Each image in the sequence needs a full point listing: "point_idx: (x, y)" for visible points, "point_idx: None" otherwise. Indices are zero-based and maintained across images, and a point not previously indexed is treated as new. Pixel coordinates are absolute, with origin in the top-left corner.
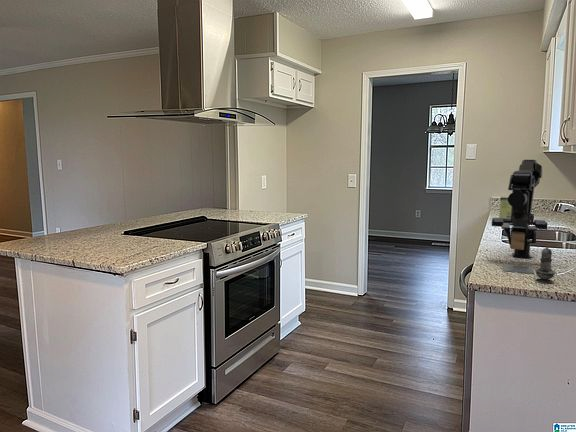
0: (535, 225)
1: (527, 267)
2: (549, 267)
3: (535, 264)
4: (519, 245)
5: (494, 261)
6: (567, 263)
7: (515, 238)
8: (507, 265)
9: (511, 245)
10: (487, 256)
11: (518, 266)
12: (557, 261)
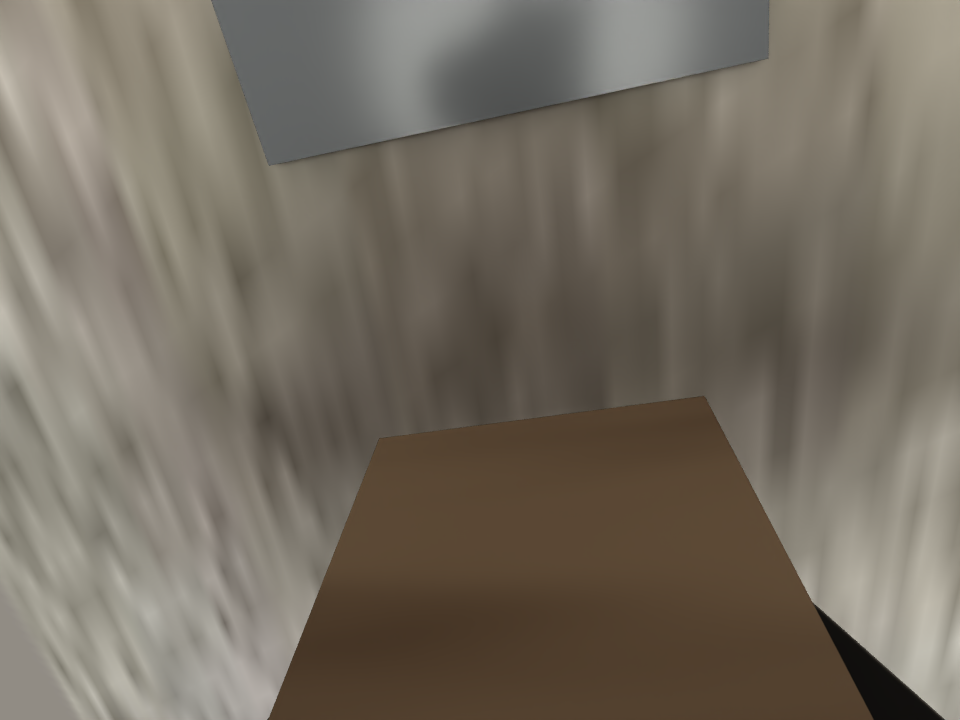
0: None
1: (317, 76)
2: None
3: (308, 451)
4: (479, 500)
5: (872, 334)
6: (74, 654)
7: (656, 706)
8: (666, 12)
9: (715, 459)
10: (937, 596)
11: (466, 56)
12: (177, 689)
